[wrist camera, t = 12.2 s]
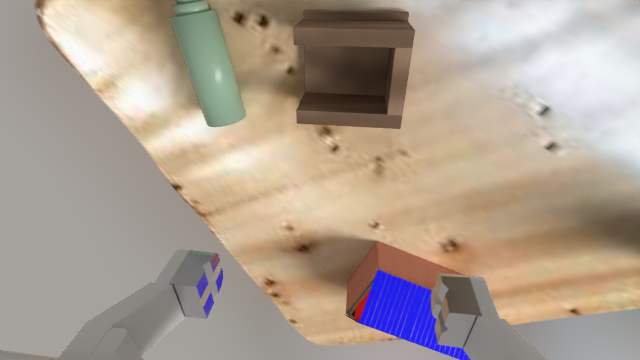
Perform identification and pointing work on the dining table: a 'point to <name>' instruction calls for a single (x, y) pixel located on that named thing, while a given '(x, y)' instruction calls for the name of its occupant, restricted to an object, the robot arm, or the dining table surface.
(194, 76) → the slim bottle
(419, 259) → the brown and blue block
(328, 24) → the u rest
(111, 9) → the dining table surface
